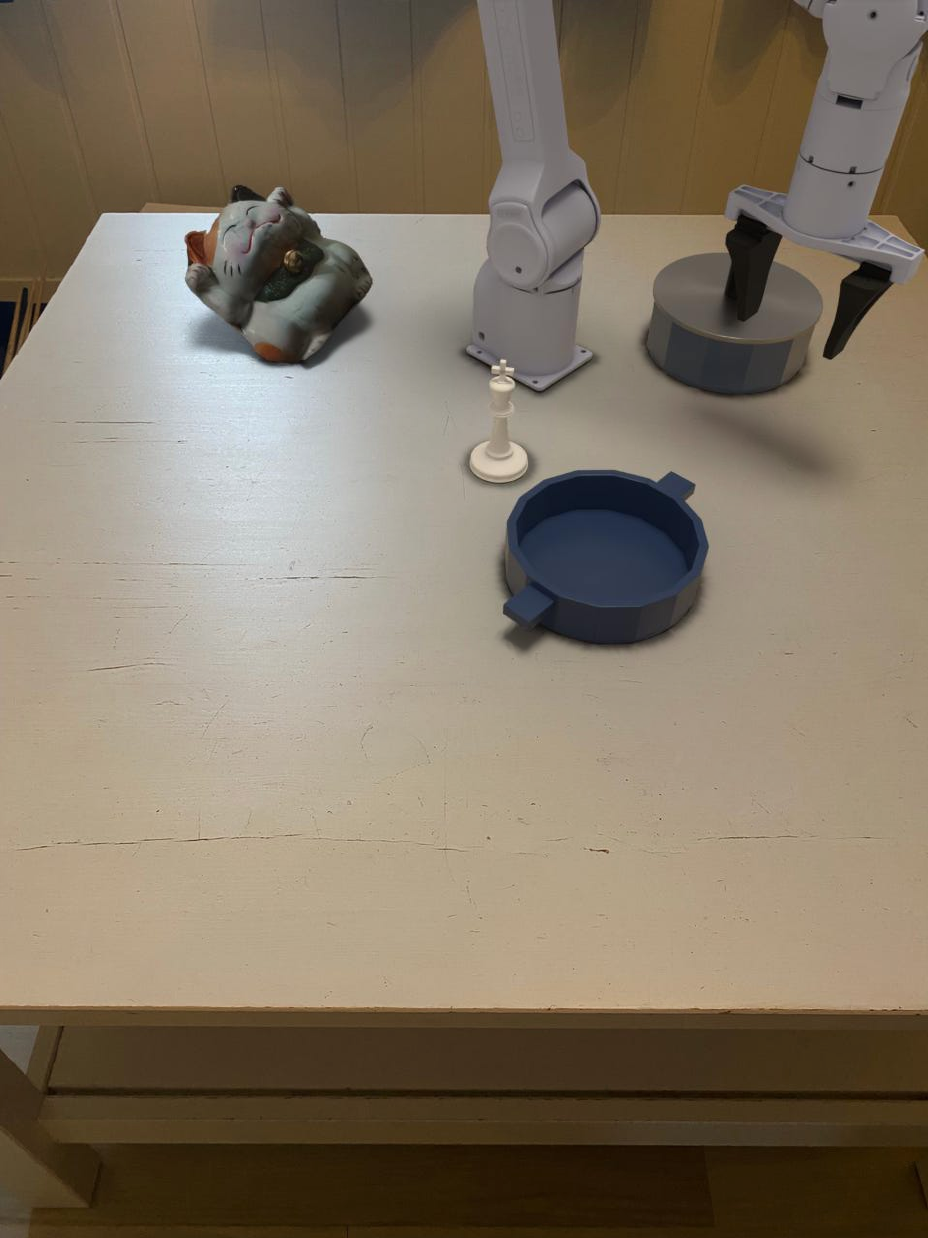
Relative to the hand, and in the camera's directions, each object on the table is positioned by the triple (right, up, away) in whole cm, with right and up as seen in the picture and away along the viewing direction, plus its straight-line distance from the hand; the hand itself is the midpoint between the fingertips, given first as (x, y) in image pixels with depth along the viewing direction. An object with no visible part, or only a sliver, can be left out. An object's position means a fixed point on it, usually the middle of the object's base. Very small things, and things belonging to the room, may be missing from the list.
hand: (788, 334), depth 74 cm
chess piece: (-23, -9, +6) cm, 25 cm away
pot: (0, +4, +17) cm, 18 cm away
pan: (-15, -19, -3) cm, 24 cm away
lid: (0, +7, +13) cm, 15 cm away
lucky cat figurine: (-43, +6, +19) cm, 47 cm away
